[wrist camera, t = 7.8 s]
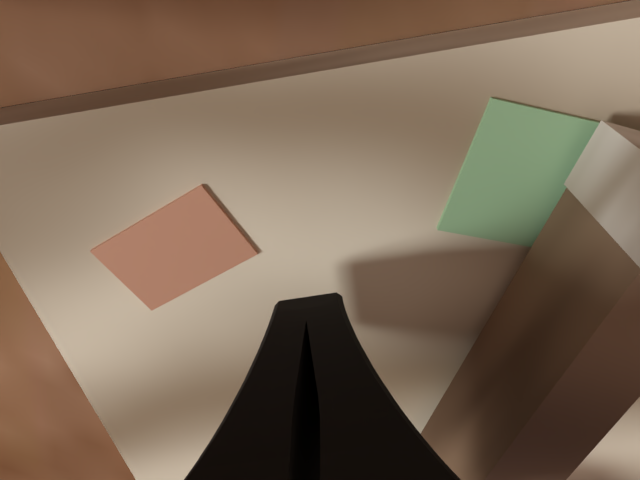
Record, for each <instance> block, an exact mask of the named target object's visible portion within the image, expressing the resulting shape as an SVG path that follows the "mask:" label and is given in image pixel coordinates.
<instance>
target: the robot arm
mask: <svg viewBox="0 0 640 480" xmlns="http://www.w3.org/2000/svg"><path fill="white" fill-rule="evenodd" d="M184 480H461V479H460V478H459V477H458V476H457V475H456V474H455V473H454V472H453V471H452V470H451V469H450V468H449V467H448V465H447V464H446V463H445V462H444V461H443V460H442V459H441V458H440V457H439V456H438V454H437V453H436V452H435V451H434V450H433V448H432V447H431V446H430V445H429V444H428V442H427V441H426V440H425V439H424V438H423V436H422V435H421V434H420V433H419V431H418V430H417V429H416V428H415V426H414V425H413V424H412V422H411V421H410V420H409V419H408V417H407V416H406V415H405V413H404V412H403V411H402V409H401V408H400V406H399V405H398V404H397V402H396V401H395V399H394V398H393V396H392V395H391V393H390V392H389V390H388V389H387V387H386V386H385V384H384V383H383V382H382V380H381V378H380V377H379V375H378V374H377V372H376V370H375V369H374V367H373V365H372V364H371V362H370V360H369V358H368V357H367V355H366V353H365V351H364V349H363V348H362V346H361V344H360V342H359V340H358V338H357V336H356V334H355V332H354V330H353V327H352V325H351V323H350V321H349V318H348V315H347V313H346V310H345V306H344V303H343V297H342V296H341V295H340V294H338V293H337V292H336V293H329V294H322V295H315V296H309V297H302V298H295V299H288V300H282V301H278V302H277V304H276V305H275V306H274V309H273V313H272V316H271V319H270V322H269V324H268V327H267V330H266V332H265V335H264V337H263V340H262V342H261V345H260V347H259V349H258V352H257V354H256V356H255V358H254V360H253V362H252V365H251V367H250V369H249V371H248V373H247V375H246V378H245V380H244V382H243V384H242V386H241V387H240V389H239V391H238V393H237V395H236V397H235V399H234V400H233V402H232V404H231V406H230V408H229V410H228V412H227V413H226V415H225V417H224V419H223V421H222V422H221V424H220V426H219V427H218V429H217V431H216V432H215V434H214V436H213V437H212V439H211V440H210V442H209V444H208V445H207V447H206V448H205V450H204V451H203V453H202V454H201V456H200V457H199V459H198V460H197V462H196V463H195V465H194V466H193V468H192V469H191V470H190V472H189V473H188V475H187V476H186V477H185V479H184Z"/></svg>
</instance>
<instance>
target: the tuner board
mask: <svg viewBox="0 0 640 480" xmlns="http://www.w3.org/2000/svg"><path fill="white" fill-rule="evenodd" d="M490 97H494V98H498V99H502V100H507V101H511V102H516V103H520V104H524V105H529V106H533V107H538V108H542V109H546V110H551V111H555V112H560V113H564V114H568V115H573V116H577V117H581V118H586V119H590V120H595V121H599V122H600V121H601V120H603V121H606V122H610V123H613V124H617V125H620V126H624V127H627V128H631V129H635V130H638V131H640V0H631V1H625V2H620V3H614V4H608V5H602V6H596V7H590V8H584V9H578V10H573V11H567V12H561V13H555V14H549V15H543V16H537V17H531V18H526V19H520V20H514V21H508V22H502V23H496V24H490V25H485V26H479V27H473V28H467V29H461V30H455V31H449V32H443V33H438V34H432V35H426V36H420V37H414V38H408V39H402V40H396V41H391V42H385V43H379V44H373V45H367V46H361V47H355V48H350V49H344V50H338V51H332V52H326V53H320V54H314V55H308V56H303V57H297V58H291V59H285V60H279V61H273V62H267V63H262V64H256V65H250V66H244V67H238V68H232V69H226V70H220V71H215V72H209V73H203V74H197V75H191V76H185V77H179V78H173V79H168V80H162V81H156V82H150V83H144V84H138V85H132V86H127V87H121V88H115V89H109V90H103V91H97V92H91V93H85V94H80V95H74V96H68V97H62V98H56V99H50V100H44V101H38V102H33V103H27V104H21V105H15V106H9V107H3V108H0V252H1V254H2V255H3V257H4V259H5V260H6V262H7V264H8V265H9V267H10V269H11V270H12V272H13V274H14V275H15V277H16V279H17V281H18V282H19V284H20V286H21V287H22V289H23V291H24V292H25V294H26V296H27V297H28V299H29V301H30V302H31V304H32V306H33V307H34V309H35V311H36V312H37V314H38V316H39V318H40V319H41V321H42V323H43V324H44V326H45V328H46V329H47V331H48V333H49V334H50V336H51V338H52V339H53V341H54V343H55V344H56V346H57V348H58V350H59V351H60V353H61V355H62V356H63V358H64V360H65V361H66V363H67V365H68V366H69V368H70V370H71V371H72V373H73V375H74V376H75V378H76V380H77V381H78V383H79V385H80V387H81V388H82V390H83V392H84V393H85V395H86V397H87V398H88V400H89V402H90V403H91V405H92V407H93V408H94V410H95V412H96V413H97V415H98V417H99V418H100V420H101V422H102V424H103V425H104V427H105V429H106V430H107V432H108V434H109V435H110V437H111V439H112V440H113V442H114V444H115V445H116V447H117V449H118V450H119V452H120V454H121V456H122V457H123V459H124V461H125V462H126V464H127V466H128V467H129V469H130V471H131V472H132V474H133V476H134V477H135V479H136V480H184V479H185V477H186V476H187V475H188V473H189V472H190V470H191V469H192V468H193V466H194V465H195V463H196V462H197V460H198V459H199V457H200V456H201V454H202V453H203V451H204V450H205V448H206V447H207V445H208V444H209V442H210V440H211V439H212V437H213V436H214V434H215V432H216V431H217V429H218V427H219V426H220V424H221V422H222V421H223V419H224V417H225V415H226V413H227V412H228V410H229V408H230V406H231V404H232V402H233V400H234V399H235V397H236V395H237V393H238V391H239V389H240V387H241V386H242V384H243V382H244V380H245V378H246V375H247V373H248V371H249V369H250V367H251V365H252V362H253V360H254V358H255V356H256V354H257V352H258V349H259V347H260V345H261V342H262V340H263V337H264V335H265V332H266V330H267V327H268V324H269V322H270V319H271V316H272V313H273V309H274V306H275V305H276V304H277V302H278V301H282V300H288V299H295V298H302V297H309V296H315V295H322V294H329V293H336V292H337V293H338V294H340V295H341V296H342V297H343V303H344V306H345V310H346V313H347V315H348V318H349V321H350V323H351V325H352V327H353V330H354V332H355V334H356V336H357V338H358V340H359V342H360V344H361V346H362V348H363V349H364V351H365V353H366V355H367V357H368V358H369V360H370V362H371V364H372V365H373V367H374V369H375V370H376V372H377V374H378V375H379V377H380V378H381V380H382V382H383V383H384V384H385V386H386V387H387V389H388V390H389V392H390V393H391V395H392V396H393V398H394V399H395V401H396V402H397V404H398V405H399V406H400V408H401V409H402V411H403V412H404V413H405V415H406V416H407V417H408V419H409V420H410V421H411V422H412V424H413V425H414V426H415V428H416V429H417V430H418V431H419V433H420V434H421V432H422V430H423V429H424V427H425V425H426V424H427V422H428V420H429V419H430V417H431V415H432V414H433V412H434V410H435V408H436V407H437V405H438V403H439V402H440V400H441V398H442V397H443V395H444V393H445V392H446V390H447V388H448V387H449V385H450V383H451V382H452V380H453V378H454V376H455V375H456V373H457V371H458V370H459V368H460V366H461V365H462V363H463V361H464V360H465V358H466V356H467V355H468V353H469V351H470V350H471V348H472V346H473V344H474V343H475V341H476V339H477V338H478V336H479V334H480V333H481V331H482V329H483V328H484V326H485V324H486V323H487V321H488V319H489V317H490V316H491V314H492V312H493V311H494V309H495V307H496V306H497V304H498V302H499V301H500V299H501V297H502V296H503V294H504V292H505V291H506V289H507V287H508V285H509V284H510V282H511V280H512V279H513V277H514V275H515V274H516V272H517V270H518V269H519V267H520V265H521V264H522V262H523V260H524V259H525V257H526V255H527V253H528V252H529V250H530V248H531V247H528V246H522V245H517V244H511V243H506V242H500V241H495V240H489V239H484V238H478V237H473V236H467V235H461V234H456V233H450V232H445V231H439V230H437V225H438V223H439V220H440V218H441V216H442V213H443V211H444V208H445V206H446V203H447V201H448V199H449V196H450V194H451V191H452V189H453V186H454V184H455V182H456V179H457V177H458V174H459V172H460V170H461V167H462V165H463V162H464V160H465V157H466V155H467V153H468V150H469V148H470V145H471V143H472V141H473V138H474V136H475V133H476V131H477V128H478V126H479V124H480V121H481V119H482V116H483V114H484V112H485V109H486V107H487V104H488V102H489V99H490ZM201 184H203V185H204V187H205V188H206V189H207V190H208V192H209V193H210V194H211V195H212V196H213V198H214V199H215V200H216V201H217V202H218V204H219V205H220V206H221V207H222V209H223V210H224V211H225V212H226V213H227V215H228V216H229V217H230V218H231V220H232V221H233V222H234V223H235V224H236V226H237V227H238V228H239V229H240V231H241V232H242V233H243V234H244V235H245V237H246V238H247V239H248V240H249V242H250V243H251V244H252V245H253V246H254V248H255V249H256V250H257V251H258V254H257V255H255V256H254V257H252V258H250V259H248V260H246V261H244V262H242V263H240V264H238V265H237V266H235V267H233V268H231V269H229V270H227V271H225V272H223V273H222V274H220V275H218V276H216V277H214V278H212V279H210V280H208V281H207V282H205V283H203V284H201V285H199V286H197V287H195V288H193V289H192V290H190V291H188V292H186V293H184V294H182V295H180V296H178V297H176V298H175V299H173V300H171V301H169V302H167V303H165V304H163V305H161V306H160V307H158V308H156V309H154V310H152V311H151V310H150V309H149V308H148V307H147V306H146V305H145V304H144V303H143V302H142V301H141V300H140V299H139V298H138V297H137V296H136V295H135V294H134V293H133V292H132V291H131V290H129V289H128V288H127V287H126V286H125V285H124V284H123V283H122V282H121V281H120V280H119V279H118V278H117V277H116V276H115V275H114V274H113V273H112V272H111V271H110V270H109V269H108V268H107V267H105V266H104V265H103V264H102V263H101V262H100V261H99V260H98V259H97V258H96V257H95V256H94V255H93V254H92V253H91V252H90V251H91V249H92V248H94V247H96V246H97V245H99V244H101V243H103V242H104V241H106V240H108V239H109V238H111V237H113V236H114V235H116V234H118V233H120V232H121V231H123V230H125V229H126V228H128V227H130V226H131V225H133V224H135V223H136V222H138V221H140V220H142V219H143V218H145V217H147V216H148V215H150V214H152V213H153V212H155V211H157V210H158V209H160V208H162V207H164V206H165V205H167V204H169V203H170V202H172V201H174V200H175V199H177V198H179V197H180V196H182V195H184V194H186V193H187V192H189V191H191V190H192V189H194V188H196V187H197V186H199V185H201ZM567 480H640V397H639V398H638V399H637V400H636V402H635V403H634V404H633V405H632V406H631V407H630V408H629V409H628V411H627V412H626V413H625V414H624V415H623V416H622V417H621V418H620V420H619V421H618V422H617V423H616V424H615V425H614V426H613V428H612V429H611V430H610V431H609V432H608V433H607V434H606V435H605V437H604V438H603V439H602V440H601V441H600V442H599V443H598V445H597V446H596V447H595V448H594V449H593V450H592V451H591V452H590V454H589V455H588V456H587V457H586V458H585V459H584V460H583V461H582V463H581V464H580V465H579V466H578V467H577V468H576V469H575V471H574V472H573V473H572V474H571V475H570V476H569V477H568V478H567Z"/></svg>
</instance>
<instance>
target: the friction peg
mask: <svg viewBox="0 0 640 480" xmlns="http://www.w3.org/2000/svg"><path fill="white" fill-rule="evenodd" d="M564 185H565V186H566V187H567V188H566V189H565V191H564V193H563V194H562V196H561V198H560V200H559V201H558V203H557V205H556V206H555V208H554V210H553V211H552V213H551V215H550V216H549V218H548V220H547V221H546V223H545V225H544V226H543V228H542V230H541V232H540V233H539V235H538V237H537V238H536V240H535V242H534V243H533V245H532V247H531V248H530V250H529V252H528V253H527V255H526V257H525V259H524V260H523V262H522V264H521V265H520V267H519V269H518V270H517V272H516V274H515V275H514V277H513V279H512V280H511V282H510V284H509V285H508V287H507V289H506V291H505V292H504V294H503V296H502V297H501V299H500V301H499V302H498V304H497V306H496V307H495V309H494V311H493V312H492V314H491V316H490V317H489V319H488V321H487V323H486V324H485V326H484V328H483V329H482V331H481V333H480V334H479V336H478V338H477V339H476V341H475V343H474V344H473V346H472V348H471V350H470V351H469V353H468V355H467V356H466V358H465V360H464V361H463V363H462V365H461V366H460V368H459V370H458V371H457V373H456V375H455V376H454V378H453V380H452V382H451V383H450V385H449V387H448V388H447V390H446V392H445V393H444V395H443V397H442V398H441V400H440V402H439V403H438V405H437V407H436V408H435V410H434V412H433V414H432V415H431V417H430V419H429V420H428V422H427V424H426V425H425V427H424V429H423V430H422V432H421V435H422V436H423V438H424V439H425V440H426V441H427V442H428V444H429V445H430V446H431V447H432V448H433V450H434V451H435V452H436V453H437V454H438V456H439V457H440V458H441V459H442V460H443V461H444V462H445V463H446V464H447V465H448V467H449V468H450V469H451V470H452V471H453V472H454V473H455V474H456V475H457V476H458V477H459V478H460V479H461V480H567V478H568V477H569V476H570V475H571V474H572V473H573V472H574V471H575V469H576V468H577V467H578V466H579V465H580V464H581V463H582V461H583V460H584V459H585V458H586V457H587V456H588V455H589V454H590V452H591V451H592V450H593V449H594V448H595V447H596V446H597V445H598V443H599V442H600V441H601V440H602V439H603V438H604V437H605V435H606V434H607V433H608V432H609V431H610V430H611V429H612V428H613V426H614V425H615V424H616V423H617V422H618V421H619V420H620V418H621V417H622V416H623V415H624V414H625V413H626V412H627V411H628V409H629V408H630V407H631V406H632V405H633V404H634V403H635V402H636V400H637V399H638V398H639V397H640V131H638V130H635V129H631V128H627V127H624V126H620V125H617V124H613V123H610V122H606V121H603V120H601V121H600V123H599V125H598V127H597V128H596V130H595V132H594V133H593V135H592V137H591V138H590V140H589V142H588V144H587V145H586V147H585V149H584V150H583V152H582V154H581V155H580V157H579V159H578V161H577V162H576V164H575V166H574V167H573V169H572V171H571V172H570V174H569V176H568V178H567V179H566V181H565V183H564Z"/></svg>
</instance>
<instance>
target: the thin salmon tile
mask: <svg viewBox="0 0 640 480" xmlns="http://www.w3.org/2000/svg"><path fill="white" fill-rule="evenodd" d="M90 252H91V253H92V254H93V255H94V256H95V257H96V258H97V259H98V260H99V261H100V262H101V263H102V264H103V265H104V266H105V267H107V268H108V269H109V270H110V271H111V272H112V273H113V274H114V275H115V276H116V277H117V278H118V279H119V280H120V281H121V282H122V283H123V284H124V285H125V286H126V287H127V288H128V289H129V290H131V291H132V292H133V293H134V294H135V295H136V296H137V297H138V298H139V299H140V300H141V301H142V302H143V303H144V304H145V305H146V306H147V307H148V308H149V309H150V310H151V311H152V310H154V309H156V308H158V307H160V306H161V305H163V304H165V303H167V302H169V301H171V300H173V299H175V298H176V297H178V296H180V295H182V294H184V293H186V292H188V291H190V290H192V289H193V288H195V287H197V286H199V285H201V284H203V283H205V282H207V281H208V280H210V279H212V278H214V277H216V276H218V275H220V274H222V273H223V272H225V271H227V270H229V269H231V268H233V267H235V266H237V265H238V264H240V263H242V262H244V261H246V260H248V259H250V258H252V257H254V256H255V255H257V254H258V251H257V250H256V249H255V248H254V246H253V245H252V244H251V243H250V242H249V240H248V239H247V238H246V237H245V235H244V234H243V233H242V232H241V231H240V229H239V228H238V227H237V226H236V224H235V223H234V222H233V221H232V220H231V218H230V217H229V216H228V215H227V213H226V212H225V211H224V210H223V209H222V207H221V206H220V205H219V204H218V202H217V201H216V200H215V199H214V198H213V196H212V195H211V194H210V193H209V192H208V190H207V189H206V188H205V187H204V185H203V184H201V185H199V186H197V187H196V188H194V189H192V190H191V191H189V192H187V193H186V194H184V195H182V196H180V197H179V198H177V199H175V200H174V201H172V202H170V203H169V204H167V205H165V206H164V207H162V208H160V209H158V210H157V211H155V212H153V213H152V214H150V215H148V216H147V217H145V218H143V219H142V220H140V221H138V222H136V223H135V224H133V225H131V226H130V227H128V228H126V229H125V230H123V231H121V232H120V233H118V234H116V235H114V236H113V237H111V238H109V239H108V240H106V241H104V242H103V243H101V244H99V245H97V246H96V247H94V248H92V249H91V251H90Z"/></svg>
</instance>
